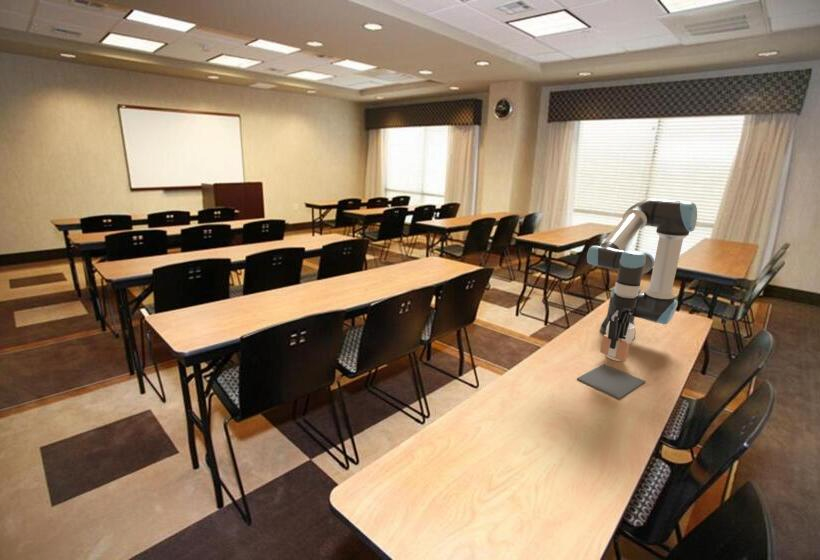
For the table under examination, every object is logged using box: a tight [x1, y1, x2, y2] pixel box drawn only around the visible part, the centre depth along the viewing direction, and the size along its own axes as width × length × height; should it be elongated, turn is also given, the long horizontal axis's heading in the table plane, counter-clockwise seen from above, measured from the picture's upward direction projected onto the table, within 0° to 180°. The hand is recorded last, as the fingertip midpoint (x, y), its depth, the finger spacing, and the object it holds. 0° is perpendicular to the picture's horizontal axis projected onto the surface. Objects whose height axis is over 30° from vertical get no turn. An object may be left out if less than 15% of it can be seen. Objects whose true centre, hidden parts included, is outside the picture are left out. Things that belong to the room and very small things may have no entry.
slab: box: [599, 334, 631, 363], centre depth 149 cm, size 2×9×7 cm, turn 37°
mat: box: [576, 363, 646, 400], centre depth 152 cm, size 20×16×1 cm
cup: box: [604, 321, 636, 362], centre depth 169 cm, size 11×11×15 cm
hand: (613, 354), depth 150 cm, fingers closed on slab, 2 cm apart
